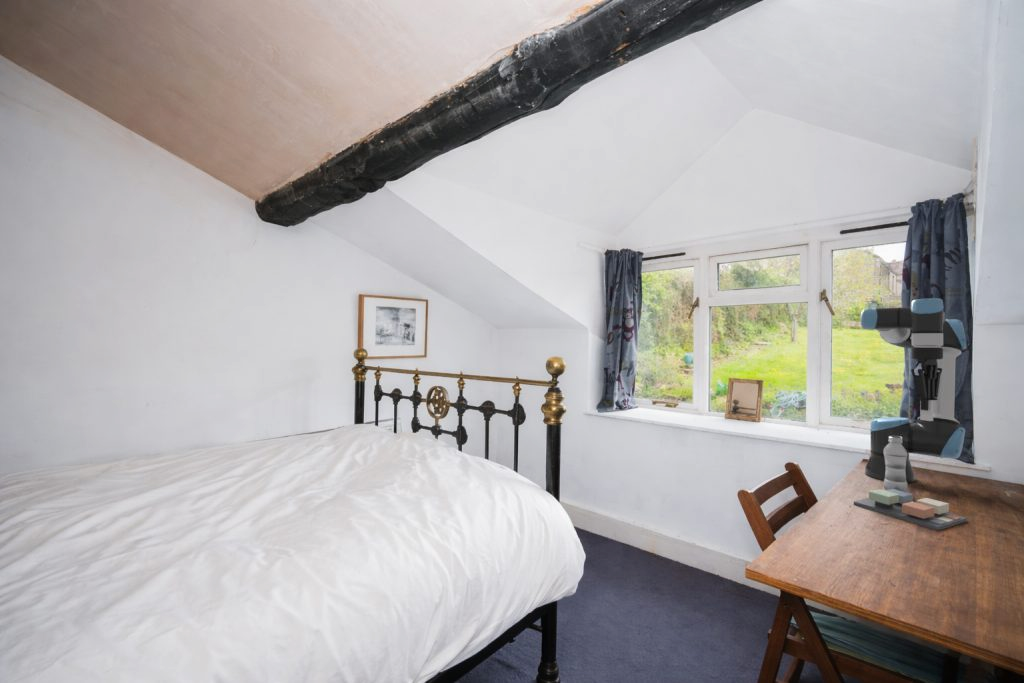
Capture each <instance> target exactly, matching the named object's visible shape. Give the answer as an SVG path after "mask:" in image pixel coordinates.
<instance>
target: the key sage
mask: <svg viewBox="0 0 1024 683" xmlns="http://www.w3.org/2000/svg"><path fill="white" fill-rule="evenodd" d="M868 498H869V499H870V500H874V501H877V502H880V503H884V504H887V505H890V504H894V503H898V502H899V494H895V493H892V492H888V491H886V490H885V489H880V488H878V489H874V490H869V491H868Z"/></svg>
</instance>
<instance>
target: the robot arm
mask: <svg viewBox="0 0 1024 683" xmlns="http://www.w3.org/2000/svg"><path fill="white" fill-rule="evenodd" d="M946 315H947V314H946V312H945V311H944V302H943V299H941V298H940V297H939V298H938V297H935V298H934V297H933V298H930V297H929V298H918V299H917V298H916V299H913V300H912V301H911V306H909V307H908V306H906V307H882V308H875V307H872V308H866V309H863V310H862V311H861V314H860V325H861V326H860V327H861V328H862V329H863V330H871V331H873V330H875V331H877V332H878V333H879V337H880V338H881V339H882V340H883V341H884V342H886V343H888V344H890V345H893V346H896V347H899V348H905V349H910V350H911V351H910V353H911V356H910V357H911V359H913V360H916V363H915V368H911V370H910V371H911V374H912V379H913V385H914V386H913V387H914V393H915V398H916V400H918V401H919V400H920V401H919V404H920V406H919V411H920V413H919V414H920V415H919V417H917V421H916V422H910V419H909V418H908V417H900V416H898V417H897V416H895V417H894V416H891V417H877V418H874V419H872V420H871V422H870V430H869V432H870V455H869V458H868V460H867V462H866V464H865V466H864V467H865V468H864V474H866V476H869V477H870V478H874V479H877V480H881V481H884V479H885V472H886V465H885V458H884V452H883V450H884V448H885V447H886V446H887V445H888V444H889V441H888V440H889V436H899V437H902V441H903V443H902V445H903V447H904V448H905V449H906V451H907V460H906V468H905V473H906V482H907V483H913V482H915V481H916V474H915V471H914V468H913V466H912V464H911V460H910V454H916V455H922V456H929V457H934V458H935V457H938V458H941V459H954V460H955V459H958V458H960V457H961V455H962V451H963V446H964V441H965V435H966V429H965V428H964V427H962V426H960V425H961V423H960V421H958V420H957V419H956V418H955V401H956V399H955V397H956V396H955V395H956V393H955V392H956V360H957V359H956V358H957V357H959V356H960V355H962V351H963V350H966V349H967V347H968V346H967V341H966V334H965V329H964V324H963V321H961V320H960V319H954V318H953V319H948V318H947V317H946Z"/></svg>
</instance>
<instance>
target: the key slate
mask: <svg viewBox="0 0 1024 683" xmlns="http://www.w3.org/2000/svg"><path fill="white" fill-rule="evenodd" d="M887 491H888V492H892V493H895V494H899V502H898V503H900V504H904V503H908V502H912V501H913V502H914V493H910V492H908V491H907V492H903V491H899V490H895V489H891V490H887Z"/></svg>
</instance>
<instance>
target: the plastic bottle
mask: <svg viewBox="0 0 1024 683" xmlns="http://www.w3.org/2000/svg"><path fill="white" fill-rule="evenodd" d="M888 441H889V444H888V445H887V446H886V447H885V448H884V450H883V452H884V458H885V465H886V472H885V479H884V480H883V484H882V485H883V490H884V491H887V490H891V489H895V490H899V491H903V492H907V493H908V491H909V490H908V489H909V486H908V482H906V473H905V468H906V460H907V451H906V449H905V448H904V447H903V445H902V443H903V441H902V437H899V436H889V440H888Z"/></svg>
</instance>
